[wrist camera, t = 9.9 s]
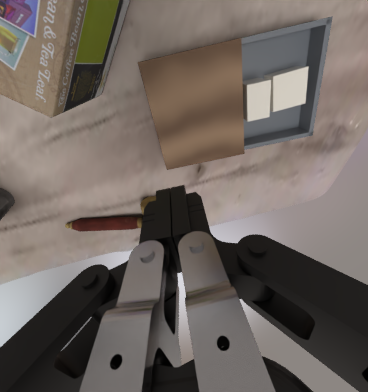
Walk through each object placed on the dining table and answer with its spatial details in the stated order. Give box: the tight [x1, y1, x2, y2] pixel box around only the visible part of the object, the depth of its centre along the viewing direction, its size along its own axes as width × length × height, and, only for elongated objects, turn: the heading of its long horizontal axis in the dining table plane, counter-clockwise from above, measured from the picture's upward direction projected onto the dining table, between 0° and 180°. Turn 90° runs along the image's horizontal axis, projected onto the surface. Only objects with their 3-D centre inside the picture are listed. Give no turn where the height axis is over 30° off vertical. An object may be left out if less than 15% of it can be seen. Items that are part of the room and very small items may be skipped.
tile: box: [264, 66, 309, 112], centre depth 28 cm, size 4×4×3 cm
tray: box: [241, 16, 333, 150], centre depth 29 cm, size 14×11×4 cm
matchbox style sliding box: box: [138, 38, 244, 170], centre depth 29 cm, size 14×12×5 cm
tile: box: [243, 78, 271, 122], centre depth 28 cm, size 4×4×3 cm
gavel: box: [65, 196, 156, 231], centre depth 41 cm, size 21×5×10 cm
